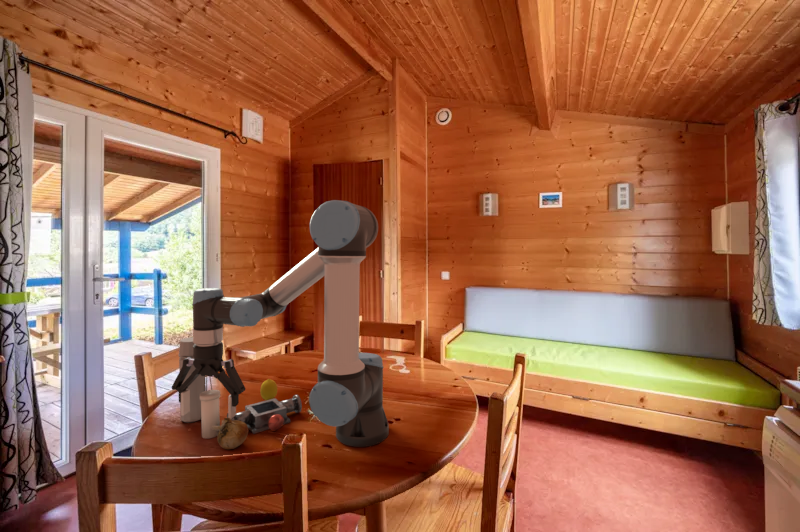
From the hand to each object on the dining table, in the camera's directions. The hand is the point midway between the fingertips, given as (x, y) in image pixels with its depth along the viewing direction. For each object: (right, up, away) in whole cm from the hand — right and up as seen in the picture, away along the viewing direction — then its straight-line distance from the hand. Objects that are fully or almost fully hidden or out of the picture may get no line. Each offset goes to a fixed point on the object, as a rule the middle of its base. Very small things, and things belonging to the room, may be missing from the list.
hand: (208, 416), depth 104 cm
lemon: (+9, -5, +23) cm, 25 cm away
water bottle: (-9, -5, +10) cm, 15 cm away
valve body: (+14, -5, +7) cm, 17 cm away
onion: (+10, -6, -6) cm, 13 cm away
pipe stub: (+1, -5, 0) cm, 5 cm away
